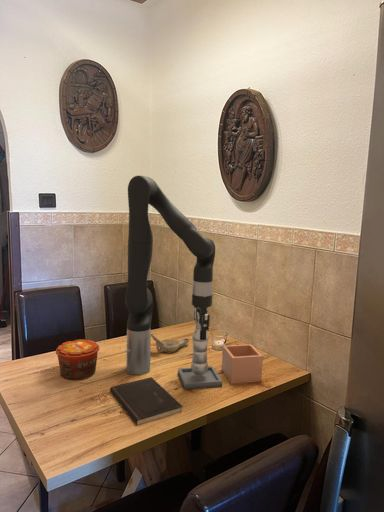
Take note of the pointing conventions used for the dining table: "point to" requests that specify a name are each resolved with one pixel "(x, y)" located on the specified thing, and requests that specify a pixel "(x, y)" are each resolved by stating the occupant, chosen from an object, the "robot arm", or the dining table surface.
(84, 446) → the dining table surface
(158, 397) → the hardcover book
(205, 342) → the plastic bottle
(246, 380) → the pink open box
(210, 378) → the tray
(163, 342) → the oil lamp
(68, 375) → the food container
